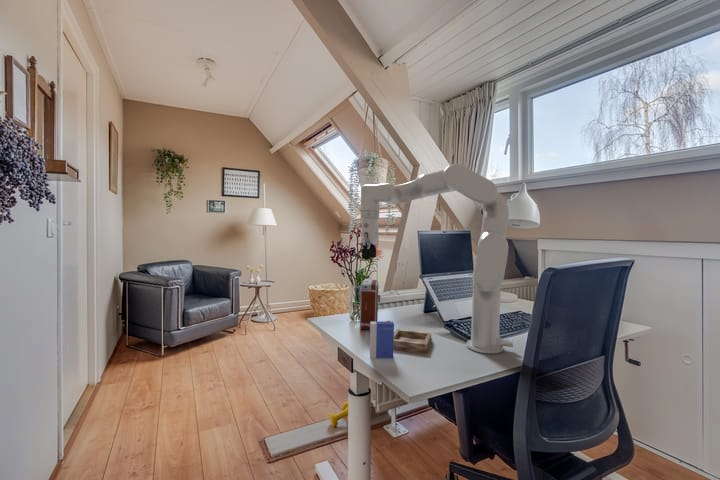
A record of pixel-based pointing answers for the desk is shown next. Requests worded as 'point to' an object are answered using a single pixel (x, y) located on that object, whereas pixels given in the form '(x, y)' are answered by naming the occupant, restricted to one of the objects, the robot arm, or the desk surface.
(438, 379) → the desk surface
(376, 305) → the cine camera
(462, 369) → the desk surface
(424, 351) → the wooden tray
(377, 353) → the walkman
